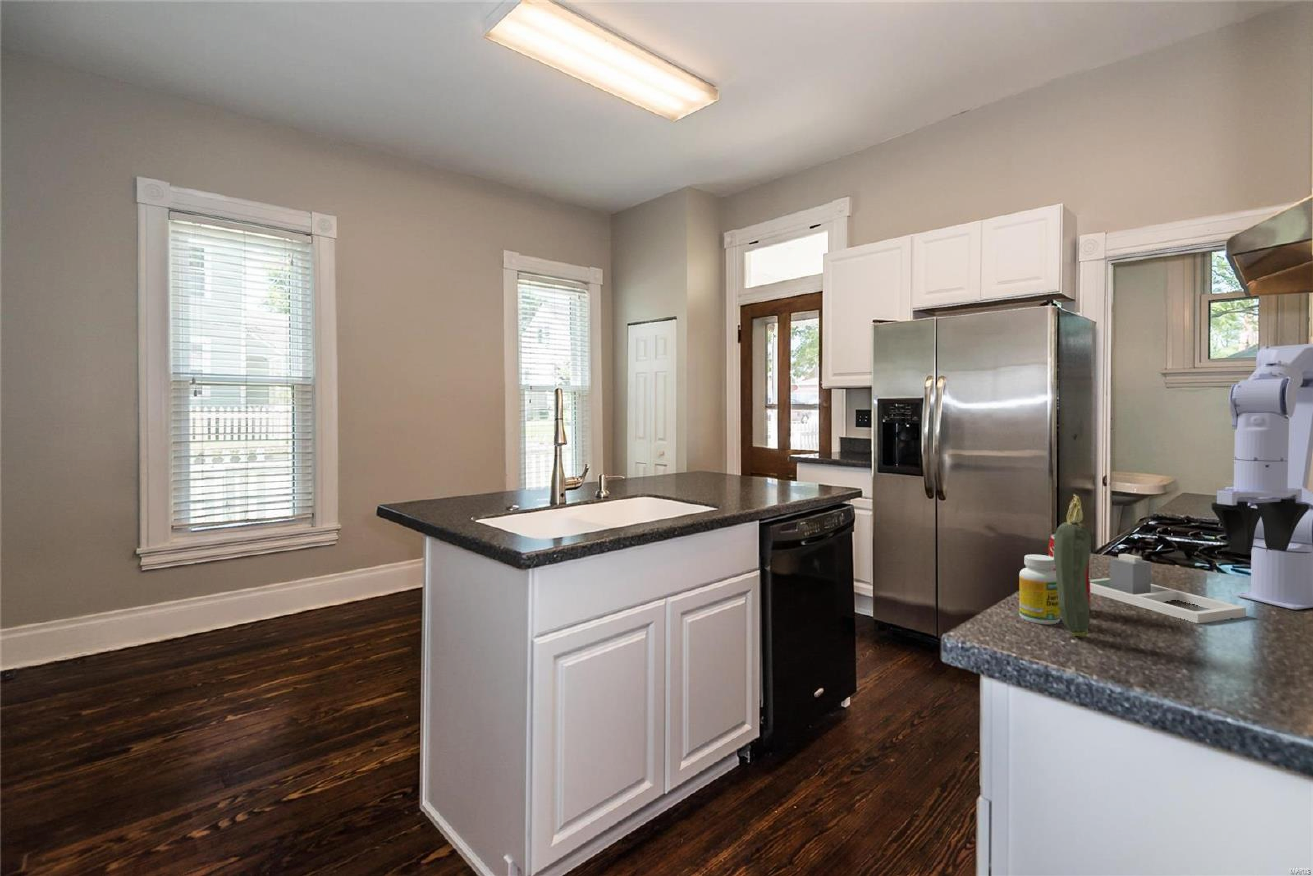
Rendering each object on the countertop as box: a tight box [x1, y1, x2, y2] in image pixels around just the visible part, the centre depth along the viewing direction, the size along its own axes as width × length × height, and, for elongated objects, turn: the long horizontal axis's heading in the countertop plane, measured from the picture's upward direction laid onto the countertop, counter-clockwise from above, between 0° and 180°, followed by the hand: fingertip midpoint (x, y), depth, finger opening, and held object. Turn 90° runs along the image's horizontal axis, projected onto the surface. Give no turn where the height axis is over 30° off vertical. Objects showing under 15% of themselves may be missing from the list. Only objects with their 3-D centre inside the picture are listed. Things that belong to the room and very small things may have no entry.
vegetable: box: [1054, 494, 1092, 638], centre depth 86 cm, size 4×4×20 cm
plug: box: [1108, 553, 1152, 595], centre depth 105 cm, size 4×4×7 cm
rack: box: [1090, 577, 1247, 624], centre depth 101 cm, size 10×19×1 cm, turn 15°
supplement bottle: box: [1018, 553, 1061, 625], centre depth 93 cm, size 5×5×10 cm
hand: (1258, 551), depth 91 cm, fingers open, 7 cm apart
